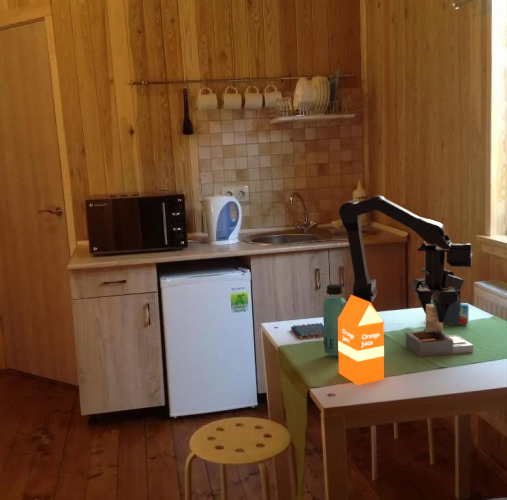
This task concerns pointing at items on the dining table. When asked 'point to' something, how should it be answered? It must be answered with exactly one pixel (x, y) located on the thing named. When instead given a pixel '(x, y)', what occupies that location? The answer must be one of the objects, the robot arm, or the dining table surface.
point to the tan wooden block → (432, 319)
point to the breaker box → (436, 343)
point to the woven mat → (308, 330)
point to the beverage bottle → (332, 318)
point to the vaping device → (453, 311)
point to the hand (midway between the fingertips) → (433, 318)
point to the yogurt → (463, 314)
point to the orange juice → (360, 342)
